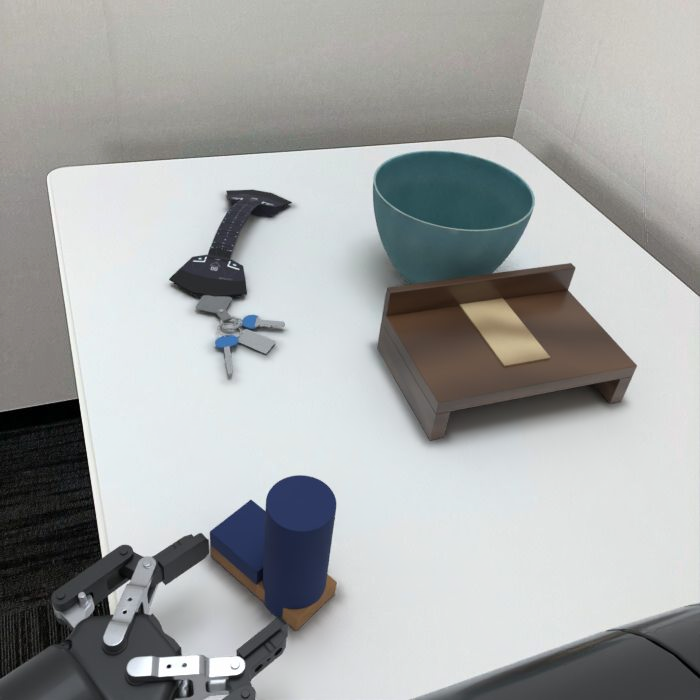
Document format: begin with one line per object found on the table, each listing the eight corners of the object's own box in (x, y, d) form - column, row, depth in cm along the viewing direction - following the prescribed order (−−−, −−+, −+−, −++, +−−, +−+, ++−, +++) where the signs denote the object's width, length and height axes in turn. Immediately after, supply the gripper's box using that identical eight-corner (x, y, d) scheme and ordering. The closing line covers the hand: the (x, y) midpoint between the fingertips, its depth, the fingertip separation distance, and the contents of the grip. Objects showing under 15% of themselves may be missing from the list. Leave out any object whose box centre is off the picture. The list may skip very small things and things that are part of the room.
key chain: (189, 298, 86) (189, 292, 86) (259, 285, 89) (259, 279, 89) (227, 378, 77) (227, 372, 76) (304, 361, 80) (305, 355, 79)
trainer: (337, 591, 60) (350, 502, 53) (294, 633, 57) (303, 544, 50) (252, 522, 64) (254, 430, 57) (208, 557, 61) (205, 465, 54)
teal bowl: (403, 335, 85) (421, 240, 77) (338, 247, 97) (347, 157, 89) (538, 306, 92) (567, 216, 84) (461, 227, 104) (480, 142, 96)
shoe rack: (621, 401, 80) (648, 342, 75) (429, 440, 73) (444, 378, 68) (551, 319, 90) (571, 262, 85) (376, 347, 83) (386, 287, 78)
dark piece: (294, 200, 105) (295, 178, 103) (243, 305, 86) (243, 280, 84) (229, 189, 106) (229, 166, 104) (164, 290, 87) (162, 265, 85)
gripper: (71, 831, 37) (318, 625, 47) (-58, 627, 44) (179, 484, 54) (90, 880, 42) (310, 685, 51) (-28, 689, 49) (184, 548, 59)
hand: (243, 582), depth 53 cm, fingers open, 8 cm apart
